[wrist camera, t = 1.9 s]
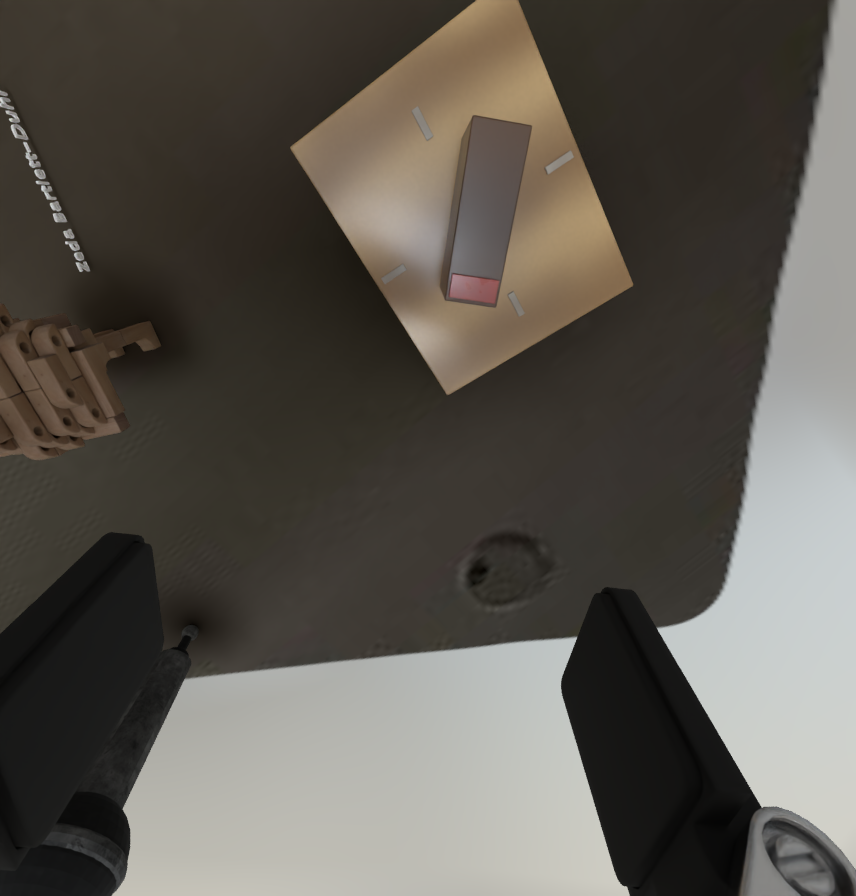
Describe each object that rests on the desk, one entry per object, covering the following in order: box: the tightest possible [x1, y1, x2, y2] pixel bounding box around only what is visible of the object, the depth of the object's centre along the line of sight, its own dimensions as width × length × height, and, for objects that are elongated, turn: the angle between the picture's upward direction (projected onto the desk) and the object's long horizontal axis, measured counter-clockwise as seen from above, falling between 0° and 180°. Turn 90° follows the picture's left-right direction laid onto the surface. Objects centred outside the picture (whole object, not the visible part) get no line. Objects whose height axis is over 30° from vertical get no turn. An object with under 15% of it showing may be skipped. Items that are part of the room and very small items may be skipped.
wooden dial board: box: [290, 0, 633, 395], centre depth 26 cm, size 15×12×4 cm
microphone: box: [0, 625, 199, 896], centre depth 31 cm, size 7×7×20 cm
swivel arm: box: [440, 115, 532, 308], centre depth 22 cm, size 7×2×5 cm, turn 172°
